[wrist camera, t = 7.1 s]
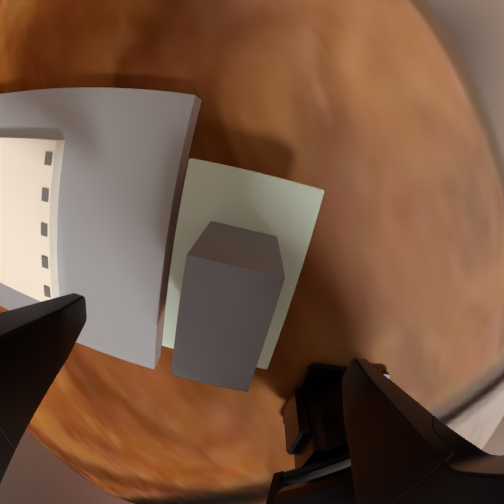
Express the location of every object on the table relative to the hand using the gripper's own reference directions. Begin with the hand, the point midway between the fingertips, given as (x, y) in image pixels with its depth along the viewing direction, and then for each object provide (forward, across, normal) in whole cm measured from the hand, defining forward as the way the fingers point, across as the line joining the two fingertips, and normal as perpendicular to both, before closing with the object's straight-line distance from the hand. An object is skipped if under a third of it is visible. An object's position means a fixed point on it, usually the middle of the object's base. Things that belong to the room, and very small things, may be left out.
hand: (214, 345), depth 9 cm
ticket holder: (+8, +12, 0) cm, 15 cm away
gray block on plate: (+6, 0, 0) cm, 6 cm away
